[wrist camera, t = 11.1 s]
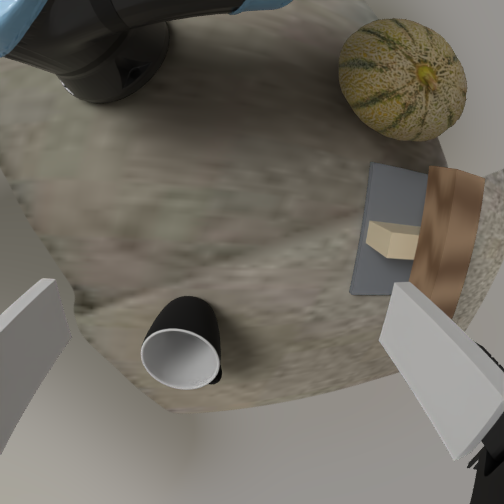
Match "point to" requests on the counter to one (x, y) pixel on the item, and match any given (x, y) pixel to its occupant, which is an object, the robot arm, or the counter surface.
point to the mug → (184, 345)
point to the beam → (447, 235)
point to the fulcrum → (388, 229)
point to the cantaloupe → (402, 79)
